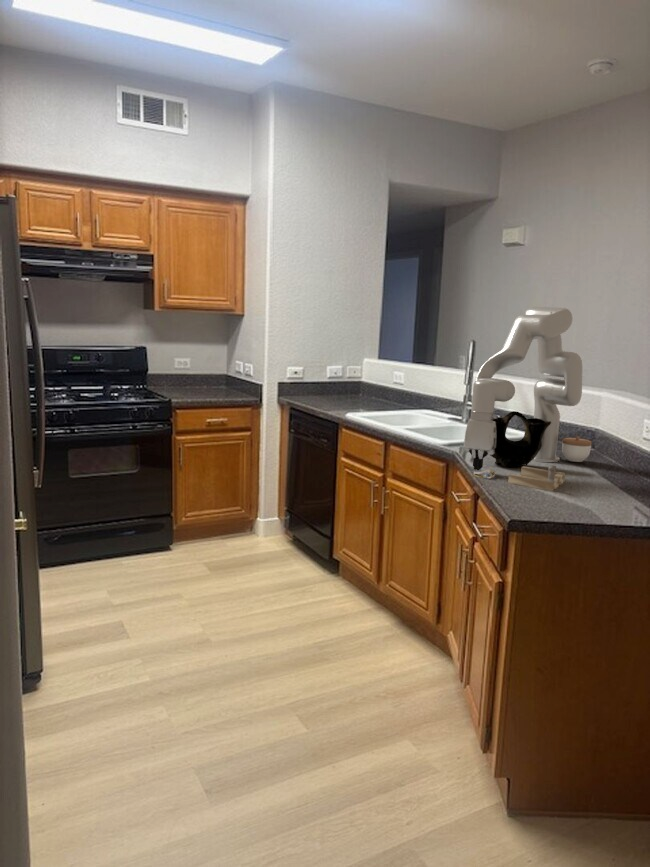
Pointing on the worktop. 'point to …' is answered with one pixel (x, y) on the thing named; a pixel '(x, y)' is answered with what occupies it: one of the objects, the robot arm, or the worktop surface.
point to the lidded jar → (576, 449)
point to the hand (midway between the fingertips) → (477, 469)
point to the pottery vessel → (522, 449)
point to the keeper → (538, 478)
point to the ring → (485, 474)
